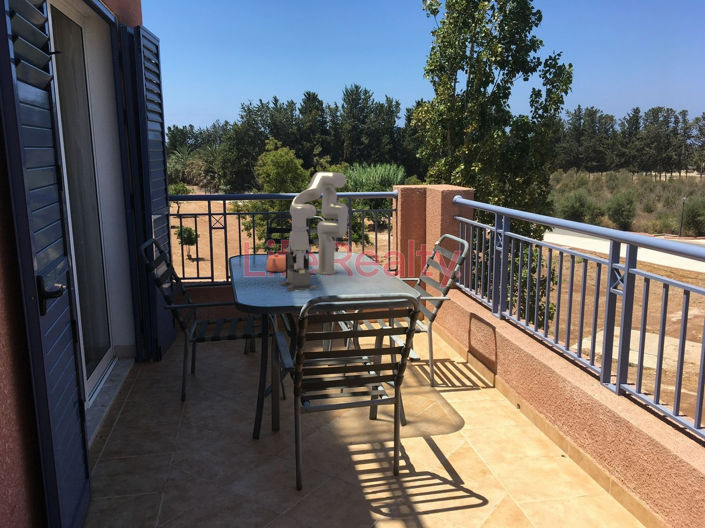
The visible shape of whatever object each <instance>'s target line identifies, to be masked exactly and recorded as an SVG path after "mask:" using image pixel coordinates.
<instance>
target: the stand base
mask: <svg viewBox="0 0 705 528" xmlns="http://www.w3.org/2000/svg"><path fill="white" fill-rule="evenodd" d="M311 273H312V272H311V271H310V270H309V271H308V270H307V269H305V268H304V270H299V272H294V269H287V278H286V279H287V281H280V285H281V286H282V287H283V286H288V287H287V288H286V291H287V290H288V292H296V291H295V290H301V291H307V290H306V289H315V290H317V289H318V286H316V285H311V278H312V277H311ZM316 288H317V289H316Z"/></svg>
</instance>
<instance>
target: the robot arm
mask: <svg viewBox="0 0 705 528" xmlns="http://www.w3.org/2000/svg"><path fill="white" fill-rule="evenodd" d="M346 182H347V177H346V175H345V174H344V173H343V172H333V171H317V172H315V173H314V174H313V176H312V178H311V181H310V182H309V185H308V186H307V189H304V190H303V191H301V192H300V193H299V194H297V195H295V197H294V198H293V200H292V202H291V204H290V207H289V214H290V216H291V231H290V232H289V238H288V246H287V247H286V249H285V251H286V252H287V253H291V254H292V255H293V263H296V255H295V254H296V251H302V252H304V263H305V256H306V254H307V253H309V252H310V251H312V247H311V246H310V243H309V242H310V241H309V235H308V231H307V230H309V229H310V228H309V226H307V219H312V218H314V217H315V216H316V215H317V208H316V207H315V205H313V204H306V203H308V202H313V201H315V200H318V199H320V198H321V196H322V198H321V199H322V201H321V210H320V211H321V216H322V218H325V219H331V220H321V221H319V222H318V223H317V227H316V228H317V234H318V268H317V269H315V272H316V274H320V275H335V274H336V273H337V269H335V247H336V246H335V245H336V244H335V241H334V239H333V238H339V239H340V238H344V237H345V236H346V233H347V230H348V228H347V227H348V217H349V208H348V206H347V205H346V203H342V202H337V200H338V197H337V196H338V194H337V191H336V189H335V188H338V189H339V188H341V189H342V188H344V187H345V185H346ZM332 219H333V220H332ZM337 220H338V221H337Z"/></svg>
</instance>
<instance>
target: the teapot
mask: <svg viewBox="0 0 705 528" xmlns="http://www.w3.org/2000/svg"><path fill="white" fill-rule="evenodd" d="M265 267H266V271H267V272H271V273H273V272H278V273H282V272H286V255H280V254H279V253H274V254H272V255H269V256H268V257H267V259H266V266H265Z"/></svg>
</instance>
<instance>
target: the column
mask: <svg viewBox="0 0 705 528" xmlns="http://www.w3.org/2000/svg"><path fill="white" fill-rule="evenodd" d="M295 255H296V263H294V272H299V270H304V252H302V250H297V251H296V254H295Z"/></svg>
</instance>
